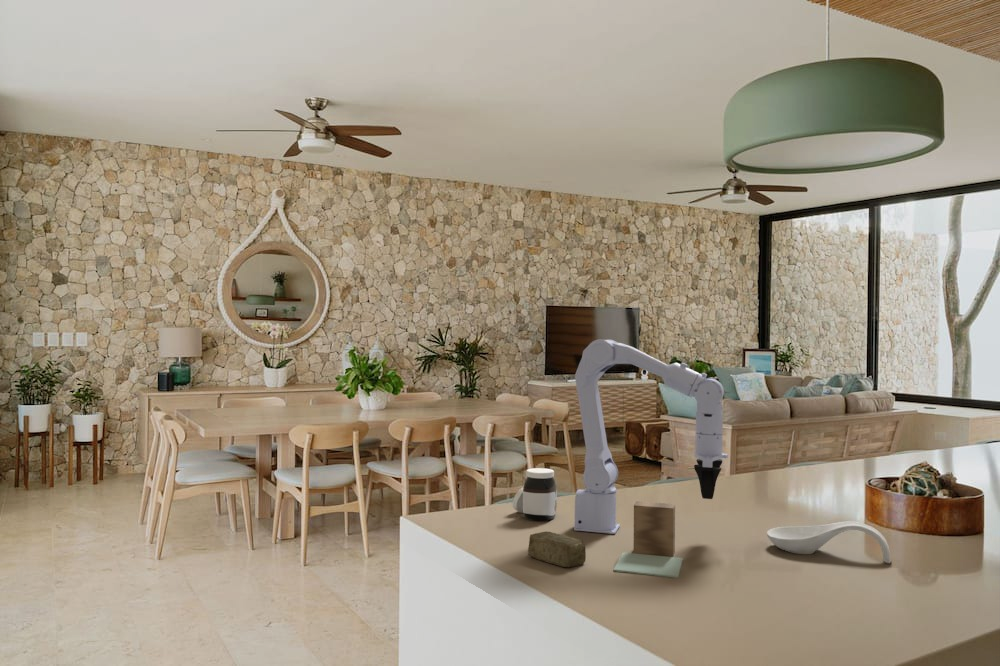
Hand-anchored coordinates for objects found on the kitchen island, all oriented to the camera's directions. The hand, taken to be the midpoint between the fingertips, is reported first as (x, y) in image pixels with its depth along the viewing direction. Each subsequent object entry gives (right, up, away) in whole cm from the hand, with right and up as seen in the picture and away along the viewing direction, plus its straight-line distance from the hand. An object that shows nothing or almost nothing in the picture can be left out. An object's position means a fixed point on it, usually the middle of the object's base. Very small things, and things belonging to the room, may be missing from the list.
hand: (708, 495), depth 163 cm
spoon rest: (+22, -11, -9) cm, 26 cm away
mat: (-17, -10, -18) cm, 27 cm away
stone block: (-35, -10, -15) cm, 39 cm away
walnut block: (-14, -10, -10) cm, 20 cm away
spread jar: (-37, -10, +21) cm, 44 cm away
